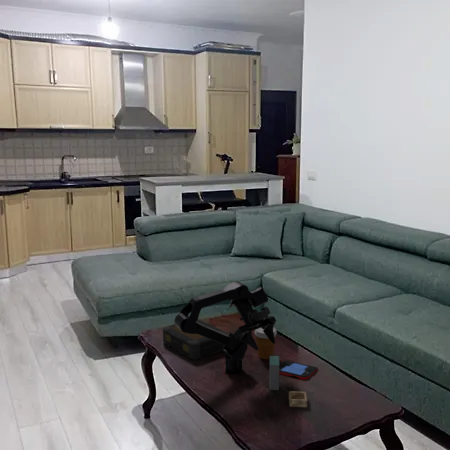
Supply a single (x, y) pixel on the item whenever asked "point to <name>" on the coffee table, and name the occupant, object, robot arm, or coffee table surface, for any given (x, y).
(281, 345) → the coffee table surface
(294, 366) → the game console
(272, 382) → the teal-topped square pillar
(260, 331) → the disposable coffee cup
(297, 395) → the open wooden box
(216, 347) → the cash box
